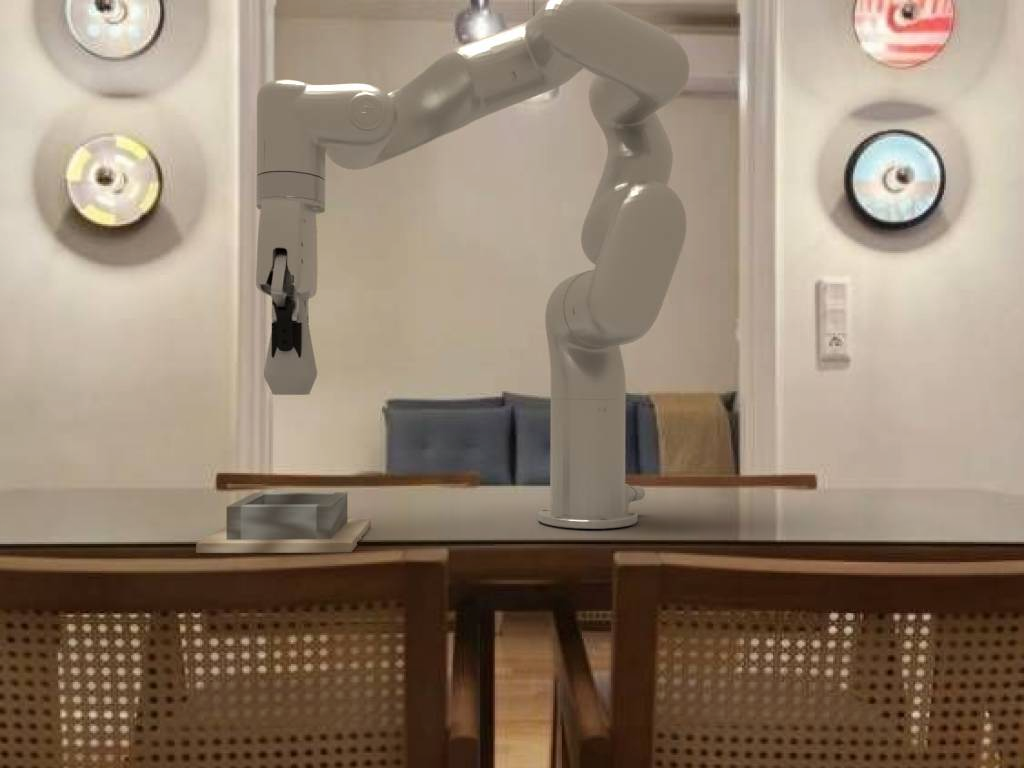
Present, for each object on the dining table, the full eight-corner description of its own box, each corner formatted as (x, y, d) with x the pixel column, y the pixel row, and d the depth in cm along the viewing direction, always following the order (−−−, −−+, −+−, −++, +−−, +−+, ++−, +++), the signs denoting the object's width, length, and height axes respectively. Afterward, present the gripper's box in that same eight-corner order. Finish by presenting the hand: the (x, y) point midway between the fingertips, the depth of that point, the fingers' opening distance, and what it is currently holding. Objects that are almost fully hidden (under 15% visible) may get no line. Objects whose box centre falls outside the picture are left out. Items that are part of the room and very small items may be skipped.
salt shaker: (323, 394, 97) (324, 282, 97) (306, 395, 92) (307, 276, 91) (275, 393, 98) (275, 282, 98) (255, 394, 92) (255, 276, 92)
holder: (370, 526, 103) (370, 490, 102) (351, 552, 88) (351, 509, 87) (238, 527, 102) (238, 490, 102) (196, 552, 87) (196, 509, 87)
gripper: (275, 210, 103) (275, 360, 103) (236, 178, 86) (235, 357, 86) (337, 211, 103) (336, 360, 103) (309, 179, 86) (308, 357, 87)
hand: (290, 357), depth 95 cm, fingers closed on salt shaker, 3 cm apart
